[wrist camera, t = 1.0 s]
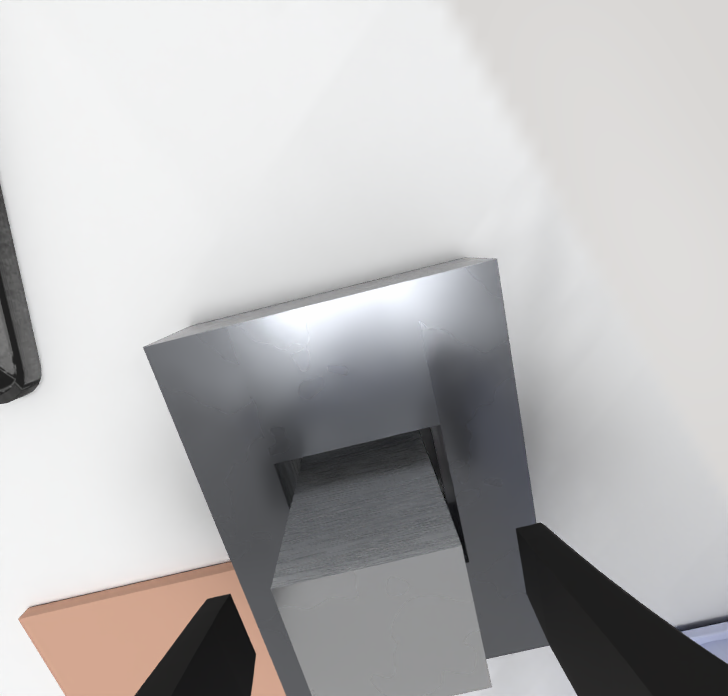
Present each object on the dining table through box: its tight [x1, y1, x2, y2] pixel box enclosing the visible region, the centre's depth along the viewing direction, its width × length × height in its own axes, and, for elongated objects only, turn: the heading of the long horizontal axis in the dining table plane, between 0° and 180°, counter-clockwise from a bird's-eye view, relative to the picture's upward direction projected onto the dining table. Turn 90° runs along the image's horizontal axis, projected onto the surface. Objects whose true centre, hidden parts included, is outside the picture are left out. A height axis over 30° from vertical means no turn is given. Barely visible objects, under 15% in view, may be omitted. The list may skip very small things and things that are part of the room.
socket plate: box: [143, 258, 549, 696], centre depth 13 cm, size 14×10×3 cm
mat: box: [18, 562, 286, 696], centre depth 17 cm, size 10×10×1 cm
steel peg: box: [271, 430, 492, 696], centre depth 11 cm, size 4×4×7 cm
